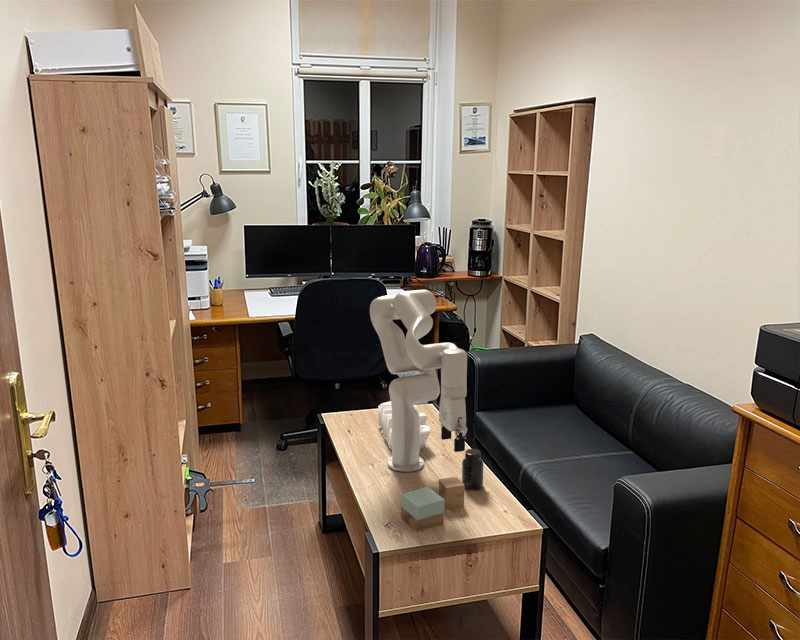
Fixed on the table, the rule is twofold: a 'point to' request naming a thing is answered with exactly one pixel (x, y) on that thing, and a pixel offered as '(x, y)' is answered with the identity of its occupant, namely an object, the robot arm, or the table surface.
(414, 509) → the tower top slab
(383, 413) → the wavy white extrusion
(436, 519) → the tower base slab
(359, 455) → the table surface
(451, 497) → the walnut block
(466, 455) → the supplement bottle
